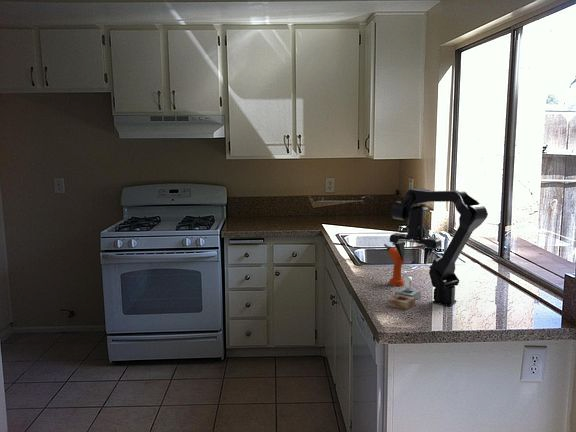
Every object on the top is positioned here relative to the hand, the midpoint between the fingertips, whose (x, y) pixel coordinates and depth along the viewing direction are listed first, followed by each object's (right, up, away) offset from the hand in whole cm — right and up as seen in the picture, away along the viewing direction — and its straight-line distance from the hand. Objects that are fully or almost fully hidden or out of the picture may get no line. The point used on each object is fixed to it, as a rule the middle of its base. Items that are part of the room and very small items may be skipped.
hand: (414, 262), depth 196 cm
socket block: (-8, -14, -12) cm, 20 cm away
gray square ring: (-4, -13, -4) cm, 14 cm away
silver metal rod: (-3, -13, -4) cm, 14 cm away
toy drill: (-5, -10, +18) cm, 21 cm away
